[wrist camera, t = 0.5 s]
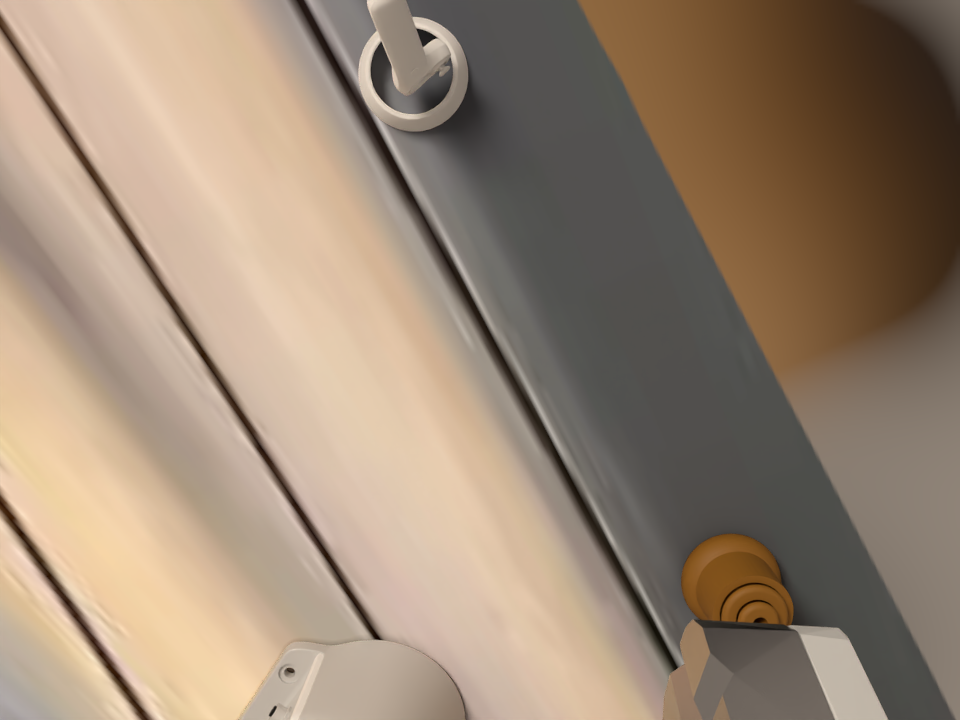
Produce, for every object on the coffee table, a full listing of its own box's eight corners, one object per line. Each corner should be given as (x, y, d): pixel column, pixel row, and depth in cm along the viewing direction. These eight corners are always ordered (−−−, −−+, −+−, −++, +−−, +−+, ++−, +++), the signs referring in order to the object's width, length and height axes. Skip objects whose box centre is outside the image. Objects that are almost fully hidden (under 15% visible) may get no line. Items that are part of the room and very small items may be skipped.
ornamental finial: (682, 624, 66) (674, 535, 65) (777, 613, 66) (770, 523, 65) (709, 680, 58) (701, 579, 57) (817, 667, 58) (811, 566, 57)
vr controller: (379, -98, 52) (449, -52, 49) (434, 44, 63) (495, 89, 60) (287, -22, 51) (352, 29, 48) (359, 109, 62) (416, 158, 59)
